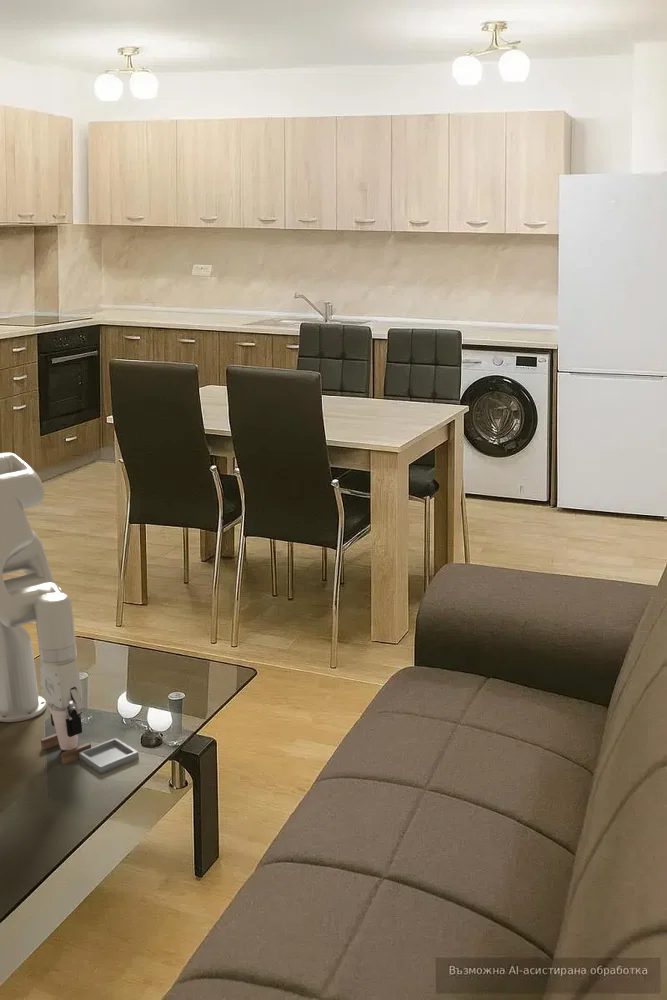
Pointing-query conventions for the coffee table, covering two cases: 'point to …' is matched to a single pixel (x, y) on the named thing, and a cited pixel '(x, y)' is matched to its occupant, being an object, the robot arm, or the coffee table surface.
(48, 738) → the brown parallel rails
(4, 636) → the robot arm
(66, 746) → the smoothie
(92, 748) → the tray
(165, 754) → the coffee table surface
